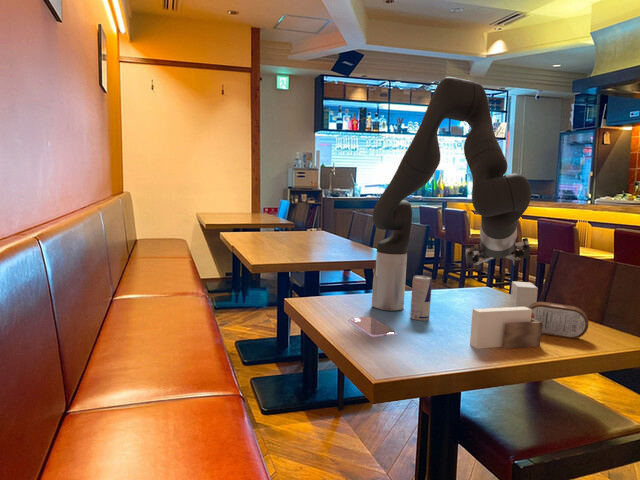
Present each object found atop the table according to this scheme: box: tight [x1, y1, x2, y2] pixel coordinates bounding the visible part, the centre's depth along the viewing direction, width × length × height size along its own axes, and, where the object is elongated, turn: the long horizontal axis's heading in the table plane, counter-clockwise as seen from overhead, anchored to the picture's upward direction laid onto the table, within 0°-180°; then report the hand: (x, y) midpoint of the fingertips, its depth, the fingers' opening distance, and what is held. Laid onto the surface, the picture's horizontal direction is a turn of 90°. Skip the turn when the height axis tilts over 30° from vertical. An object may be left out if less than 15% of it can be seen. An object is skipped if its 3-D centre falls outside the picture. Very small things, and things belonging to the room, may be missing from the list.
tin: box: [528, 301, 589, 340], centre depth 124 cm, size 15×3×8 cm, turn 64°
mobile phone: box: [347, 316, 397, 338], centre depth 125 cm, size 8×1×15 cm
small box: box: [509, 280, 539, 308], centre depth 138 cm, size 8×6×10 cm
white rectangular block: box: [469, 306, 532, 349], centre depth 114 cm, size 15×3×9 cm, turn 107°
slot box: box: [502, 318, 543, 350], centre depth 116 cm, size 10×6×6 cm, turn 107°
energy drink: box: [409, 275, 433, 322], centre depth 134 cm, size 5×5×12 cm
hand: (496, 264), depth 117 cm, fingers open, 8 cm apart
